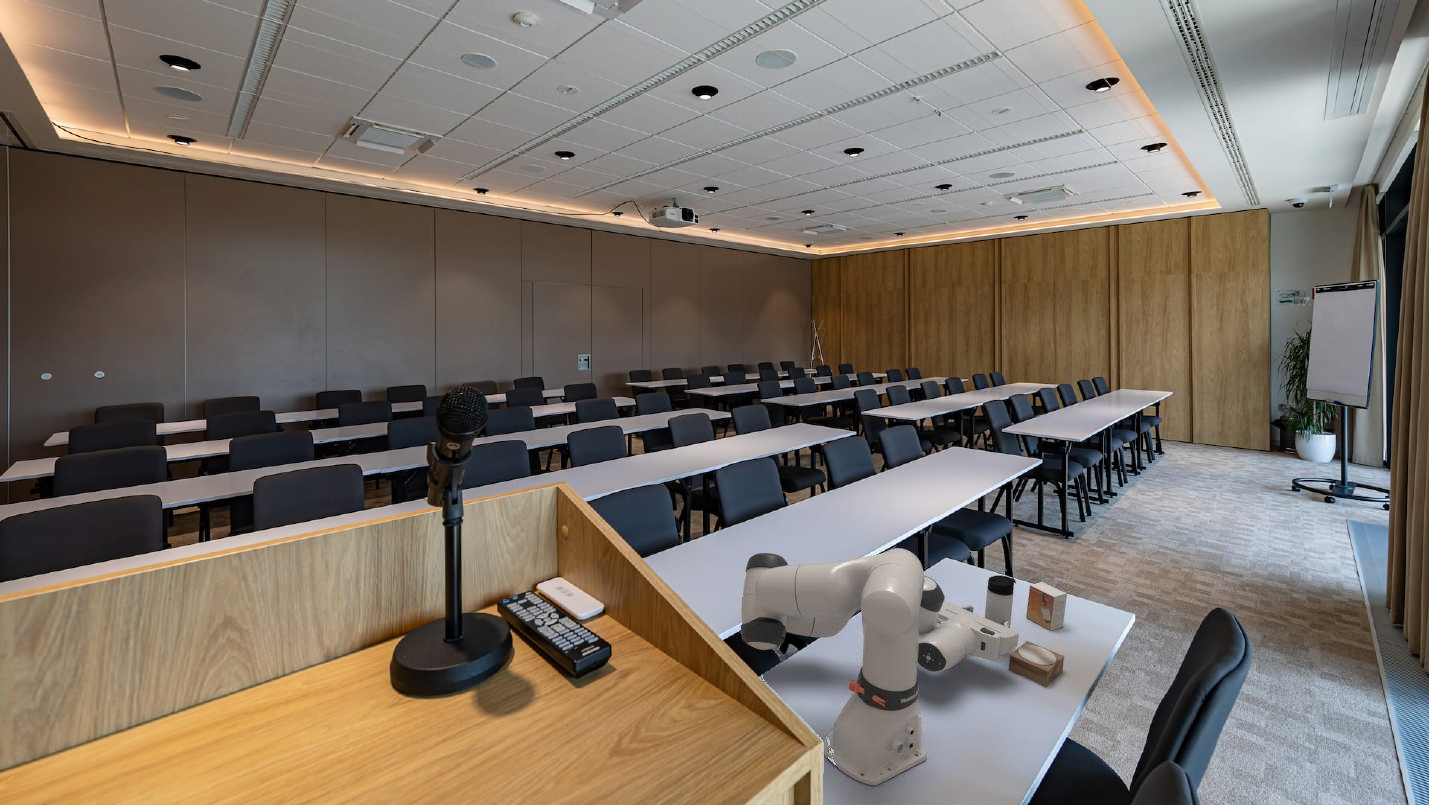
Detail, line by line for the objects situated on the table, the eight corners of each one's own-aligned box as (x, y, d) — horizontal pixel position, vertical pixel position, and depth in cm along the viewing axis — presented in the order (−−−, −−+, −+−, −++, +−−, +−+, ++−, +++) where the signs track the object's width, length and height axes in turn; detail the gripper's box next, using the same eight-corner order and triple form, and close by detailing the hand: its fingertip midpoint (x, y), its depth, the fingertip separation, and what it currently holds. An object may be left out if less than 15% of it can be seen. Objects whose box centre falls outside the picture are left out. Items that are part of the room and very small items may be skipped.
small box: (1025, 618, 178) (1028, 584, 176) (1038, 614, 181) (1042, 581, 179) (1050, 631, 171) (1054, 596, 169) (1063, 627, 173) (1067, 592, 172)
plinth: (1046, 686, 147) (1047, 670, 146) (1008, 669, 153) (1009, 654, 153) (1062, 670, 153) (1064, 655, 152) (1025, 654, 160) (1027, 639, 159)
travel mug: (1012, 656, 159) (1019, 585, 156) (985, 653, 160) (991, 582, 157) (1005, 643, 165) (1012, 574, 162) (979, 640, 166) (985, 572, 163)
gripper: (923, 628, 159) (950, 611, 168) (1001, 664, 144) (1026, 643, 153) (925, 605, 158) (952, 589, 167) (1004, 640, 143) (1029, 620, 151)
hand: (988, 615), depth 159 cm, fingers open, 8 cm apart
